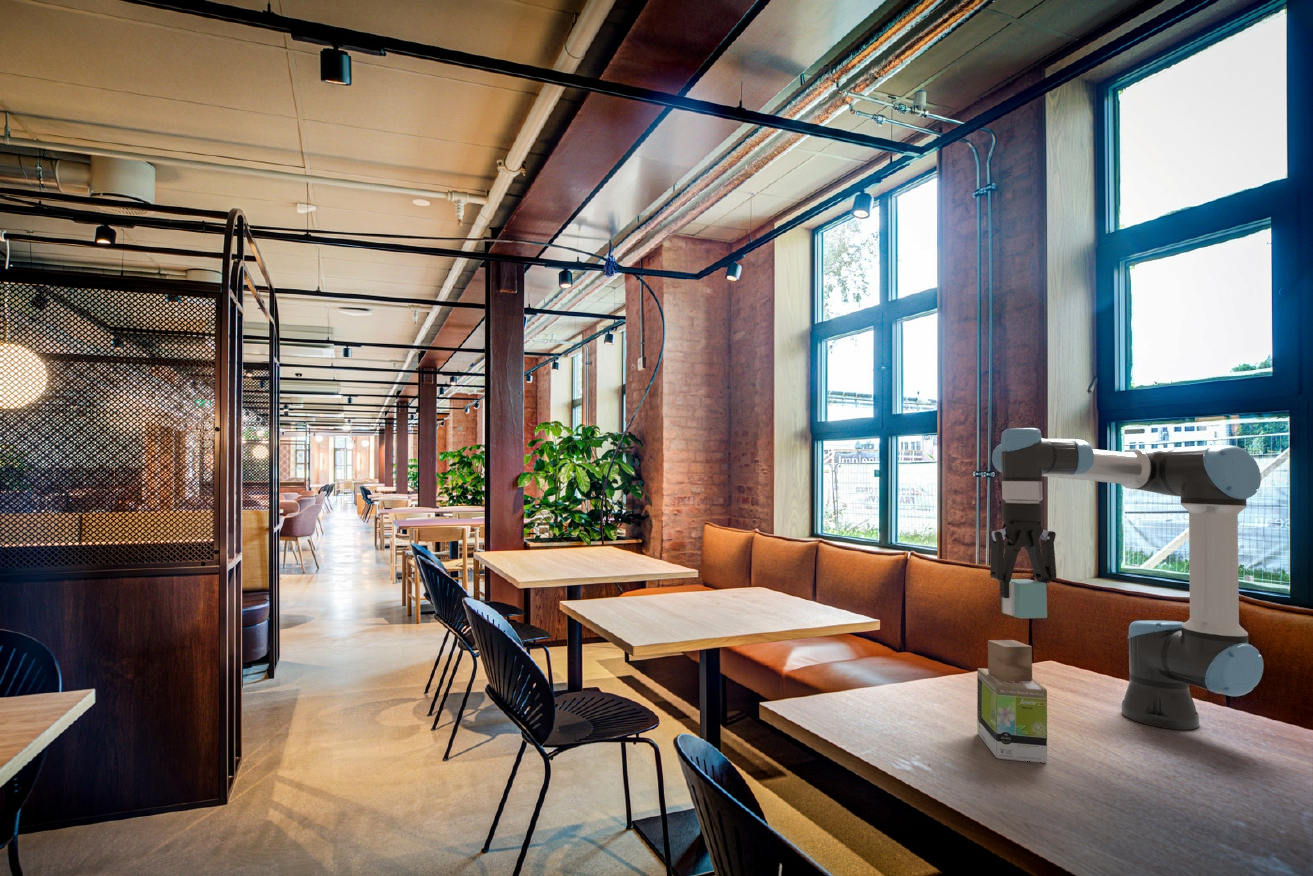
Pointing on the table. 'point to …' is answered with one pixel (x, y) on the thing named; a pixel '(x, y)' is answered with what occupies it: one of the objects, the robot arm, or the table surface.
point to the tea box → (1012, 717)
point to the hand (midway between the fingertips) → (1023, 613)
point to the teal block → (1029, 598)
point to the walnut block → (1010, 660)
